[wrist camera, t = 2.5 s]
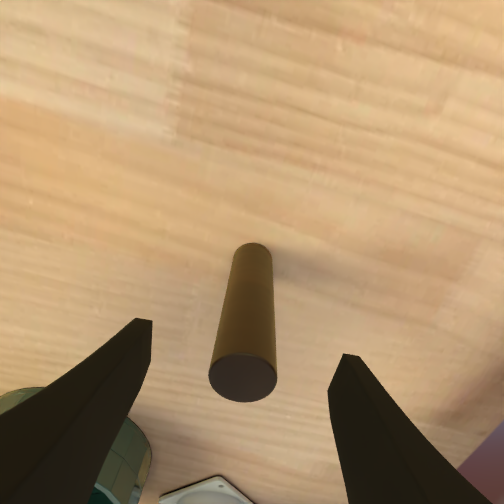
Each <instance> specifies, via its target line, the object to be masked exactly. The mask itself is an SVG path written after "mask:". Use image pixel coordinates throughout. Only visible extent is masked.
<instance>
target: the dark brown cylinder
mask: <svg viewBox="0 0 504 504" xmlns="http://www.w3.org/2000/svg"><path fill="white" fill-rule="evenodd" d="M208 376H209V381H210V384H211V386H212V388H213V389H214V390H215V391H216V392H217V393H218V394H219V395H221V396H222V397H224V398H226V399H229V400H232V401H236V402H254V401H258V400H260V399H263V398H265V397H266V396H268V395H269V394H270V393H271V392H272V391H273V389H274V388H275V386H276V383H277V359H276V336H275V313H274V289H273V266H272V256H271V254H270V252H269V251H268V249H266V248H265V247H264V246H262V245H260V244H256V243H249V244H245V245H243V246H241V247H240V248H239V249H237V251H236V252H235V254H234V257H233V262H232V267H231V271H230V276H229V280H228V285H227V290H226V294H225V299H224V304H223V308H222V313H221V318H220V322H219V327H218V331H217V336H216V341H215V345H214V350H213V355H212V359H211V364H210V368H209V375H208Z"/></svg>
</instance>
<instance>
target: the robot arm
mask: <svg viewBox="0 0 504 504" xmlns="http://www.w3.org/2000/svg"><path fill="white" fill-rule="evenodd" d="M152 322H153V321H152V320H146V319H140V318H135V319H133V320H132V321H131V322H130V323H129V324H127V325H126V326H125V327H124V328H123V329H122V330H121V331H119V332H118V333H117V334H116V335H115V336H114V337H112V338H111V339H110V340H109V341H108V342H106V343H105V344H104V345H103V346H101V347H100V348H99V349H98V350H96V351H95V352H94V353H93V354H91V355H90V356H89V357H87V358H86V359H85V360H84V361H82V362H81V363H79V364H78V365H77V366H75V367H74V368H73V369H71V370H70V371H68V372H67V373H66V374H64V375H63V376H61V377H60V378H59V379H57V380H56V381H54V382H53V383H51V384H50V385H48V386H47V387H45V388H44V389H42V390H41V391H39V392H37V393H36V394H34V395H33V396H31V397H29V398H28V399H26V400H25V401H23V402H21V403H19V404H18V405H16V406H14V407H13V408H11V409H9V410H7V411H6V412H4V413H2V414H1V415H0V504H87V503H88V501H89V498H90V496H91V493H92V491H93V488H94V486H95V483H96V481H97V478H98V476H99V473H100V471H101V468H102V466H103V464H104V462H105V459H106V457H107V455H108V453H109V451H110V449H111V447H112V445H113V443H114V441H115V439H116V437H117V435H118V433H119V431H120V429H121V427H122V425H123V423H124V421H125V419H126V417H127V415H128V413H129V411H130V409H131V407H132V405H133V403H134V401H135V399H136V397H137V395H138V393H139V391H140V389H141V386H142V384H143V381H144V378H145V376H146V373H147V370H148V367H149V365H150V362H151V344H152ZM327 391H328V402H329V412H330V420H331V424H332V429H333V434H334V438H335V443H336V447H337V451H338V456H339V460H340V465H341V469H342V473H343V478H344V482H345V486H346V492H347V497H348V502H349V504H492V503H491V502H490V501H489V500H488V499H487V498H486V497H484V496H483V495H482V494H481V493H480V492H479V491H478V490H477V489H476V488H475V487H473V486H472V484H470V483H469V482H468V481H467V480H466V479H465V478H464V477H463V476H462V475H461V474H460V473H459V472H458V471H457V470H456V469H455V468H454V467H453V466H452V465H451V464H450V463H449V462H448V461H447V460H446V459H445V458H444V457H443V456H442V455H441V454H440V453H439V452H438V451H437V450H436V449H435V447H434V446H433V445H432V444H431V443H430V442H429V441H428V440H427V439H426V438H425V437H424V435H423V434H422V433H421V432H420V431H419V430H418V429H417V427H416V426H415V425H414V424H413V423H412V422H411V421H410V419H409V418H408V417H407V416H406V415H405V414H404V412H403V411H402V410H401V409H400V407H399V406H398V405H397V404H396V403H395V401H394V400H393V399H392V398H391V396H390V395H389V394H388V393H387V391H386V390H385V389H384V387H383V386H382V385H381V384H380V382H379V381H378V380H377V378H376V377H375V376H374V374H373V373H372V372H371V371H370V369H369V368H368V367H367V365H366V364H365V363H364V362H363V360H362V359H361V358H360V357H359V356H355V355H350V354H344V353H343V355H342V358H341V360H340V362H339V365H338V367H337V369H336V372H335V374H334V376H333V379H332V381H331V383H330V386H329V388H328V390H327ZM158 503H159V504H253V503H252V502H251V501H250V500H248V499H247V498H246V497H245V496H244V495H242V494H241V493H240V492H239V491H238V490H236V489H235V488H234V487H233V486H232V485H230V484H229V483H228V482H227V481H226V480H224V479H223V478H222V477H219V476H217V477H214V478H211V479H208V480H205V481H203V482H200V483H197V484H194V485H192V486H189V487H186V488H183V489H181V490H178V491H175V492H172V493H170V494H167V495H164V496H162V497H160V498H159V501H158Z"/></svg>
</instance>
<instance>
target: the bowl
mask: <svg viewBox="0 0 504 504" xmlns="http://www.w3.org/2000/svg"><path fill="white" fill-rule="evenodd" d="M42 389H44V388H25V389H20V390H15V391H12V392H9V393H6V394H4V395H2V396H0V415H1V414H2V413H4V412H6V411H7V410H9V409H11V408H13V407H14V406H16V405H18V404H19V403H21V402H23V401H25V400H26V399H28V398H29V397H31V396H33V395H34V394H36V393H37V392H39V391H41V390H42ZM150 463H151V450H150V446H149V443H148V441H147V439H146V437H145V436H144V434H143V433H142V431H141V430H140V429H139V428H138V427H137V426H136V425H135V424H134V423H133V422H132V421H131V420H130V419H129V418H128V417H126V419H125V421H124V423H123V425H122V427H121V429H120V431H119V433H118V435H117V437H116V439H115V441H114V443H113V445H112V447H111V449H110V451H109V453H108V455H107V457H106V459H105V462H104V464H103V466H102V468H101V471H100V473H99V476H98V478H97V481H96V483H95V486H94V488H93V491H92V493H91V496H90V498H89V501H88V503H87V504H138V501H139V498H140V495H141V492H142V489H143V486H144V483H145V480H146V477H147V474H148V471H149V467H150Z"/></svg>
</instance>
